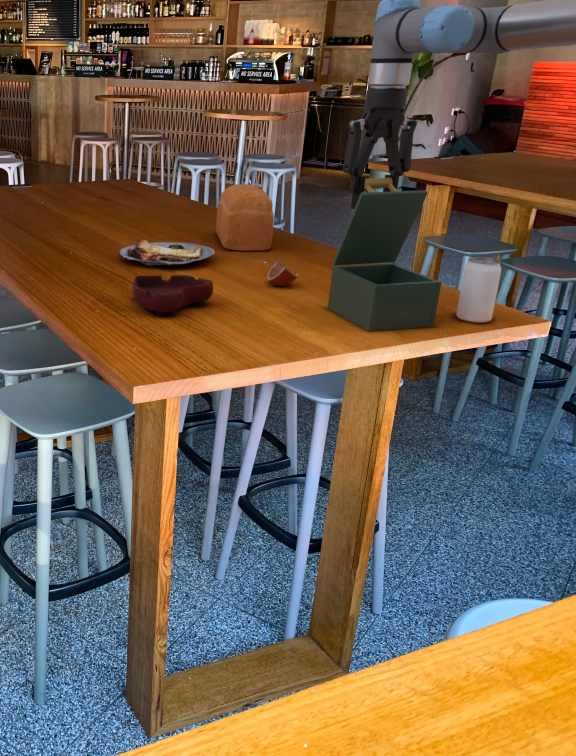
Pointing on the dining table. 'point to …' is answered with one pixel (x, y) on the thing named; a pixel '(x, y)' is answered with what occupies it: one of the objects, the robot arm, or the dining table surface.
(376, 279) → the chest
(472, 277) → the can
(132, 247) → the food plate
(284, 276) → the fruit slice
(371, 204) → the lid
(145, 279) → the ashtray
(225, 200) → the bread
